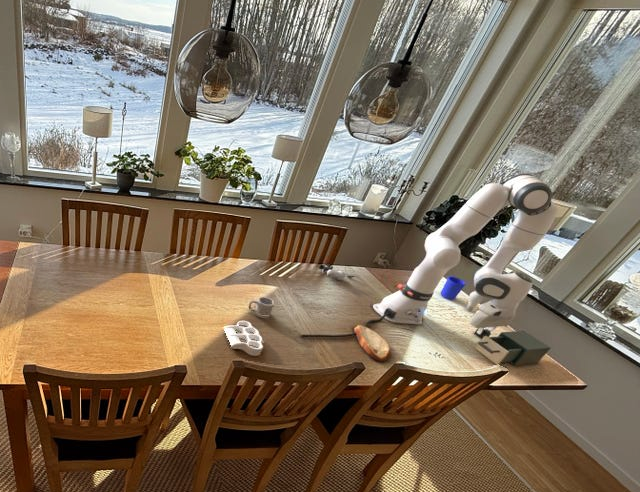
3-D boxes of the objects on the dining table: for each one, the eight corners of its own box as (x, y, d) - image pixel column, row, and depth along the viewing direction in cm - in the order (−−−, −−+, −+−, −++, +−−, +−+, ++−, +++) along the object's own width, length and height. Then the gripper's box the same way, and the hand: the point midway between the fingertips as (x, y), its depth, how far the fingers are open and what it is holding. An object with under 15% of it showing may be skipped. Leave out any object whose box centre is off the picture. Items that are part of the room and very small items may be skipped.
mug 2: (451, 292, 216) (461, 276, 210) (457, 302, 206) (468, 286, 201) (434, 288, 217) (444, 272, 212) (440, 298, 208) (450, 281, 202)
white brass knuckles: (220, 326, 161) (253, 327, 164) (232, 356, 147) (269, 356, 150) (221, 320, 160) (255, 320, 162) (234, 349, 145) (272, 349, 148)
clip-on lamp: (341, 276, 221) (315, 269, 215) (346, 266, 219) (321, 258, 213) (354, 285, 211) (328, 278, 205) (360, 275, 209) (334, 267, 203)
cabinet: (514, 365, 165) (527, 349, 160) (489, 347, 174) (501, 332, 169) (537, 363, 169) (551, 347, 164) (511, 345, 178) (524, 330, 173)
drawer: (488, 365, 161) (498, 352, 157) (466, 349, 169) (475, 336, 165) (518, 362, 166) (529, 350, 162) (496, 346, 174) (505, 334, 170)
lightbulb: (477, 314, 198) (490, 296, 192) (464, 312, 199) (477, 293, 192) (471, 308, 203) (484, 290, 197) (459, 305, 204) (471, 287, 198)
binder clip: (482, 339, 179) (487, 332, 177) (473, 333, 182) (478, 326, 180) (487, 339, 180) (492, 332, 178) (478, 333, 183) (483, 326, 181)
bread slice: (357, 326, 175) (360, 319, 173) (398, 348, 165) (402, 340, 163) (338, 340, 164) (342, 333, 162) (381, 364, 154) (386, 357, 152)
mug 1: (269, 311, 176) (273, 298, 172) (270, 319, 171) (274, 306, 167) (246, 306, 177) (250, 294, 173) (247, 315, 171) (251, 302, 167)
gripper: (511, 303, 178) (493, 328, 185) (477, 304, 172) (460, 330, 180) (525, 311, 173) (505, 336, 181) (490, 313, 167) (471, 338, 175)
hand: (482, 333), depth 180 cm, fingers closed on binder clip, 3 cm apart
